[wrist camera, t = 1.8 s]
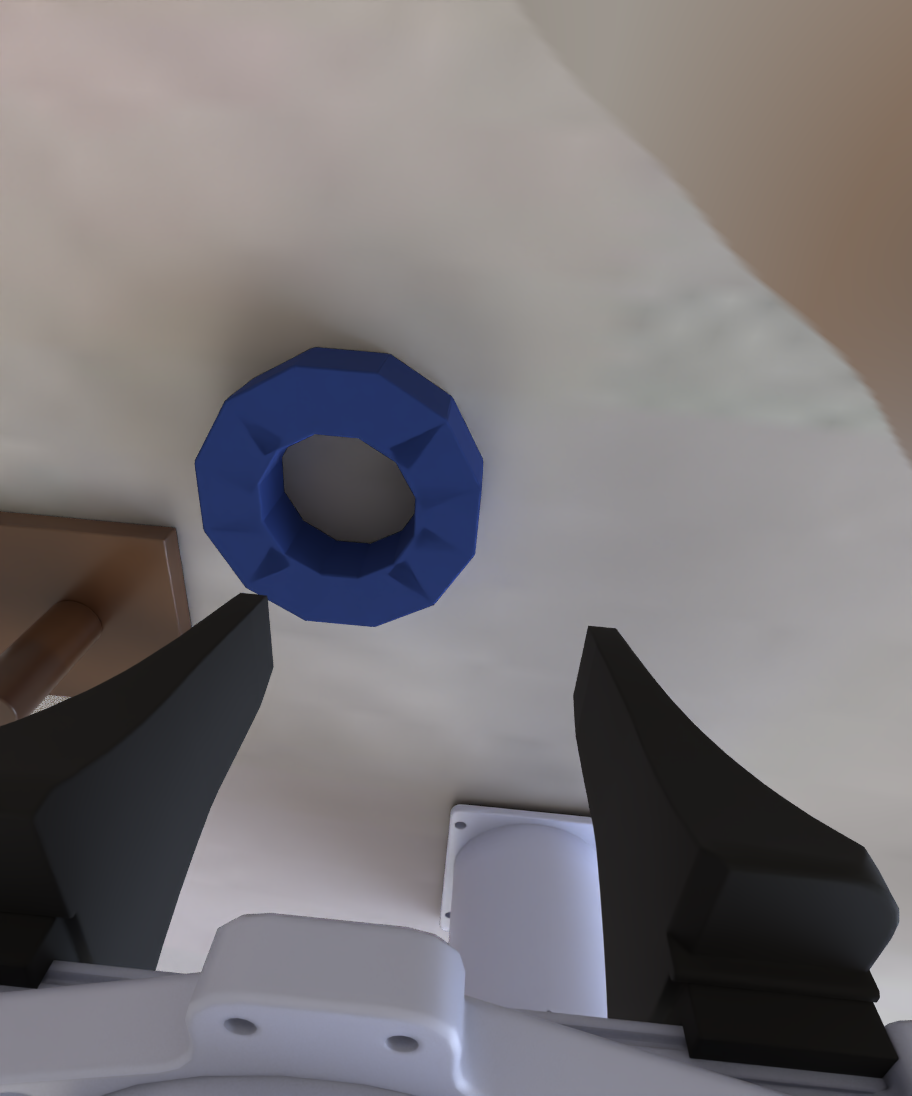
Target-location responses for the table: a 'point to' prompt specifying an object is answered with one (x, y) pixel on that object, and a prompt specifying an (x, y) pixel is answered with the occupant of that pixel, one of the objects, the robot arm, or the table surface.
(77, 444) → the table surface
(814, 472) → the table surface
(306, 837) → the table surface
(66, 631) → the stand
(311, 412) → the ring
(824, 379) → the table surface
